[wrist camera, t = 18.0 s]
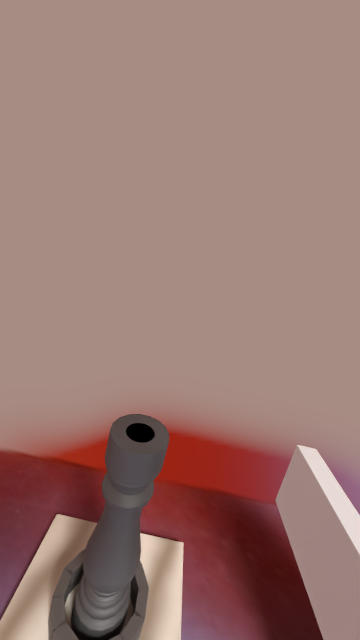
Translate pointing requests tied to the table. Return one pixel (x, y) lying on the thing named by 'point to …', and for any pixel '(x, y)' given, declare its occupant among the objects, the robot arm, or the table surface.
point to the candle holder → (118, 526)
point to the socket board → (64, 553)
